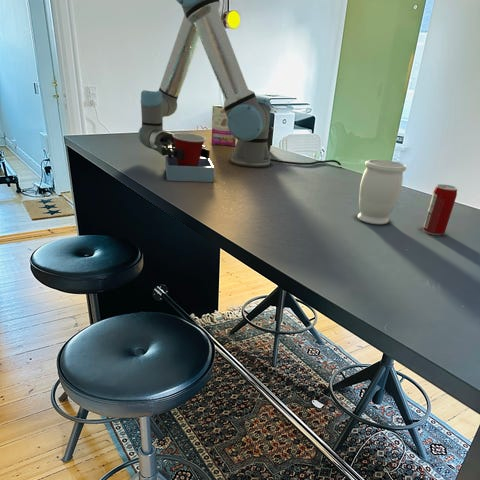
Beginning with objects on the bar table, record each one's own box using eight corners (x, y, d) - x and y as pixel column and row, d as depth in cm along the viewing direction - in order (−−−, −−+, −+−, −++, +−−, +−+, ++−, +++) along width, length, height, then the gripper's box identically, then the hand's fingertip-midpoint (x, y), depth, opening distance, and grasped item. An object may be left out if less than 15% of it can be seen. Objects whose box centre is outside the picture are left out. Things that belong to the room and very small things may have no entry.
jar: (385, 229, 115) (400, 169, 107) (348, 220, 119) (359, 162, 112) (396, 219, 123) (411, 163, 115) (360, 211, 127) (372, 157, 120)
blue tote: (208, 171, 157) (209, 158, 154) (213, 182, 144) (214, 167, 142) (165, 169, 154) (165, 156, 152) (167, 180, 141) (166, 165, 139)
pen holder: (251, 148, 204) (253, 124, 199) (271, 150, 203) (273, 126, 198) (248, 151, 196) (250, 127, 191) (269, 153, 195) (272, 129, 190)
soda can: (448, 235, 114) (464, 188, 108) (431, 236, 113) (445, 188, 107) (435, 228, 119) (449, 182, 113) (417, 228, 117) (431, 182, 111)
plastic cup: (189, 178, 142) (190, 139, 136) (165, 172, 147) (165, 133, 141) (211, 174, 150) (212, 136, 144) (187, 168, 155) (188, 131, 149)
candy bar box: (236, 145, 209) (239, 106, 200) (234, 146, 204) (237, 107, 196) (213, 142, 210) (214, 104, 201) (211, 144, 206) (212, 105, 197)
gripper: (190, 152, 165) (223, 165, 149) (136, 154, 154) (165, 169, 138) (191, 130, 161) (224, 141, 146) (135, 131, 150) (165, 143, 134)
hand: (195, 154), depth 142 cm, fingers closed on plastic cup, 9 cm apart
